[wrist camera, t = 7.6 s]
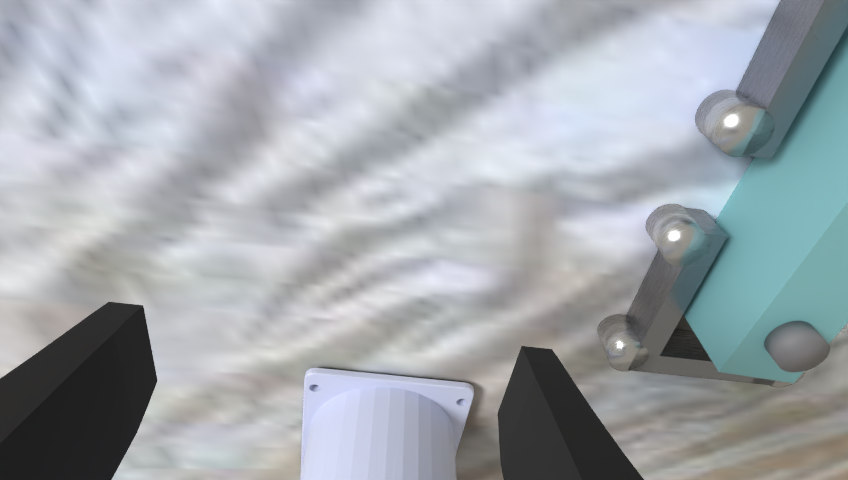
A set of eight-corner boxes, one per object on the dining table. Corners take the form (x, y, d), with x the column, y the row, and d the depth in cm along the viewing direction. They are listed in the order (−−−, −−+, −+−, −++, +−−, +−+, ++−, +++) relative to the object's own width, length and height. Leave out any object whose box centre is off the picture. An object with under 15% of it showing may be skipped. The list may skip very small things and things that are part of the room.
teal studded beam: (732, 302, 23) (807, 401, 18) (668, 291, 22) (729, 389, 18) (935, 13, 16) (1127, 59, 12) (850, -9, 16) (1015, 30, 12)
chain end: (769, 358, 24) (792, 388, 23) (592, 338, 24) (604, 369, 22) (864, 229, 20) (899, 256, 19) (655, 201, 20) (674, 227, 18)
